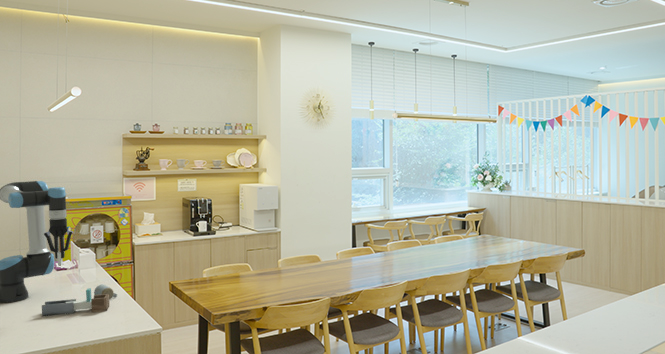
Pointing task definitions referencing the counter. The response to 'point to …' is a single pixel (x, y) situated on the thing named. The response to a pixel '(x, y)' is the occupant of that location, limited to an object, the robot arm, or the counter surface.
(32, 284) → the counter surface
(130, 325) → the counter surface
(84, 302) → the rod
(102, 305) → the socket
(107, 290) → the ceramic mug
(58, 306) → the channel
